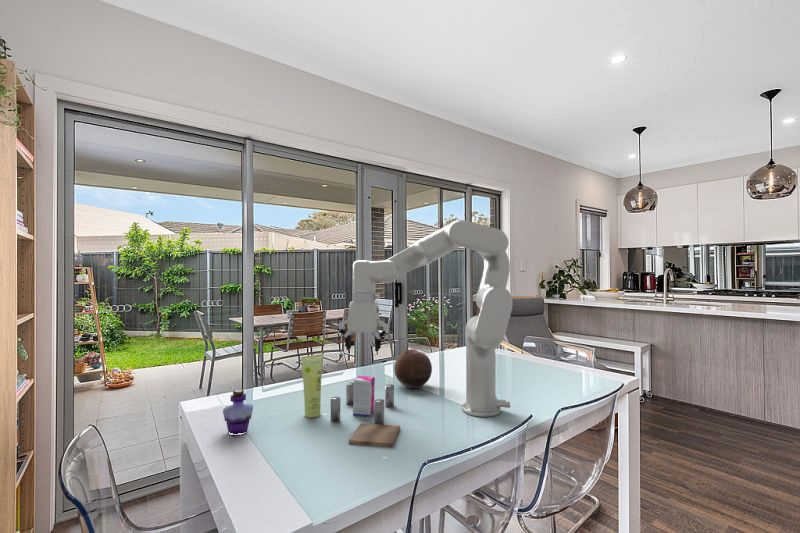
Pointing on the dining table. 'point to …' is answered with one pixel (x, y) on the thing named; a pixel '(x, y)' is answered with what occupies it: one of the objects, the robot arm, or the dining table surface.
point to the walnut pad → (375, 435)
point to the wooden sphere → (413, 368)
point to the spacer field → (377, 403)
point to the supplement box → (363, 396)
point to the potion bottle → (238, 413)
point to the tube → (312, 384)
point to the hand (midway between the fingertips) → (362, 349)
